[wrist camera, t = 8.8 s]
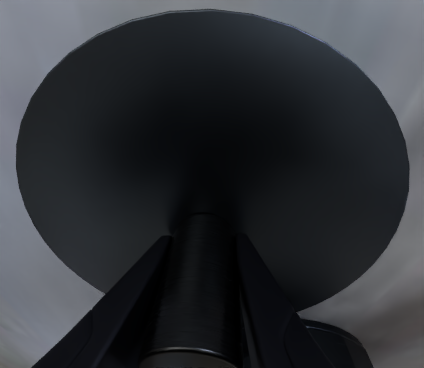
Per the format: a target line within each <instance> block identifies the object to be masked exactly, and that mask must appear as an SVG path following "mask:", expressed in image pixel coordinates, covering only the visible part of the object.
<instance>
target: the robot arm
mask: <svg viewBox="0 0 424 368" xmlns="http://www.w3.org/2000/svg"><path fill="white" fill-rule="evenodd" d="M171 242H172V236H170V235H165V236H161V237H160V238H159V239H158V240H157V241H156V242H155V243H154V244H153V245H152V246H151V247H150V248H149V249H148V250H147V251H146V252H145V253H144V254H143V255H142V256H141V258H140V259H139V260H138V261H137V262H136V263H135V264H134V265H133V266H132V267H131V268H130V269H129V270H128V271H127V272H126V273H125V274H124V275H123V276H122V277H121V279H120V280H119V281H118V282H117V283H116V284H115V285H114V286H113V287H112V288H111V289H110V290H109V291H108V292H107V293H106V294H105V295H104V296H103V297H102V298H101V300H100V301H99V302H98V303H97V304H96V305H95V306H94V307H93V308H92V310H90V311H89V312H88V313H87V314H86V315H85V316H84V317H83V318H82V319H81V320H80V321H79V322H78V323H77V324H76V325H75V326H74V327H73V328H72V330H71V331H70V332H69V333H68V334H67V335H66V336H65V337H63V338H62V339H61V340H60V341H59V342H58V343H57V344H56V345H55V346H54V347H53V348H52V349H51V350H50V351H49V352H48V353H47V354H45V355H44V356H43V357H42V358H41V359H40V360H39V361H38V362H37V363H36V364H35V365H34V366H32V367H31V368H138V358H139V354H140V351H141V347H142V344H143V340H144V337H145V333H146V330H147V326H148V323H149V319H150V316H151V312H152V309H153V305H154V302H155V298H156V295H157V291H158V288H159V284H160V281H161V277H162V273H163V270H164V266H165V263H166V259H167V256H168V252H169V249H170V245H171ZM236 253H237V269H238V277H239V292H240V302H241V308H242V314H243V320H244V326H245V332H246V338H247V344H248V350H249V356H250V362H251V368H335V367H334V366H333V364H332V363H331V362H330V360H329V359H328V358H327V356H326V355H325V354H324V352H323V351H322V350H321V348H320V347H319V346H318V344H317V343H316V341H315V340H314V339H313V337H312V336H311V334H310V333H309V331H308V330H307V328H306V327H305V325H304V324H303V322H302V320H301V319H300V317H299V316H298V314H297V313H296V312H294V308H293V306H292V305H291V303H290V302H289V300H288V299H287V297H286V295H285V294H284V292H283V291H282V289H281V288H280V286H279V284H278V283H277V281H276V280H275V278H274V277H273V275H272V273H271V272H270V270H269V269H268V267H267V265H266V264H265V262H264V261H263V259H262V258H261V256H260V254H259V253H258V251H257V250H256V248H255V247H254V245H253V243H252V242H251V240H250V239H249V237H248V236H247V234H245V233H237V234H236Z"/></svg>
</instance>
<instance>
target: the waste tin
mask: <svg viewBox="0 0 424 368" xmlns="http://www.w3.org/2000/svg"><path fill="white" fill-rule="evenodd" d="M301 320H302V322H303V324H304V325H305V327H306V328H307V330H308V331H309V333H310V334H311V336H312V337H313V339H314V340H315V341H316V343H317V344H318V346H319V347H320V348H321V350H322V351H323V352H324V354H325V355H326V356H327V358H328V359H329V360H330V362H331V363H332V364H333V366H334V367H335V368H374V367H373V365H372V363H371V361H370V359H369V356H368V354H367V352H366V350H365V349H364V347H363V346H362V344H361V342H360V341H359V340H358V339H357V338H356V337H354V336H353V335H351V334H350V333H348V332H346V331H344V330H342V329H340V328H337V327H334V326H332V325H328V324H324V323H321V322H316V321H310V320H303V319H301ZM241 330H242V349H243V368H251V362H250V356H249V350H248V344H247V338H246V332H245V326H244V323H241Z"/></svg>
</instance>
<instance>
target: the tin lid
mask: <svg viewBox="0 0 424 368" xmlns="http://www.w3.org/2000/svg"><path fill="white" fill-rule="evenodd" d="M16 170H17V177H18V183H19V189H20V192H21V195H22V198H23V201H24V205H25V208H26V210H27V212H28V214H29V216H30V218H31V220H32V222H33V224H34V226H35V227H36V229H37V231H38V232H39V234H40V235H41V237H42V238H43V240H44V241H45V242H46V244H47V245H48V246H49V247H50V248H51V250H52V251H53V252H54V253H55V255H56V256H57V257H58V258H59V259H60V260H61V261H62V262H63V263H64V264H65V265H66V266H67V267H69V268H70V269H71V270H72V271H73V272H75V273H76V274H77V275H78V276H79V277H81V278H82V279H83V280H85V281H86V282H88V283H89V284H91V285H92V286H94V287H95V288H97V289H98V290H100V291H102V292H104V293H105V294H106V293H107V292H108V291H109V290H110V289H111V288H112V287H113V286H114V285H115V284H116V283H117V282H118V281H119V280H120V279H121V277H122V276H123V275H124V274H125V273H126V272H127V271H128V270H129V269H130V268H131V267H132V266H133V265H134V264H135V263H136V262H137V261H138V260H139V259H140V258H141V256H142V255H143V254H144V253H145V252H146V251H147V250H148V249H149V248H150V247H151V246H152V245H153V244H154V243H155V242H156V241H157V240H158V239H159V238H160V237H161V236H165V235H170V236H172V242H171V245H170V249H169V252H168V256H167V259H166V263H165V266H164V270H163V273H162V277H161V281H160V284H159V288H158V291H157V295H156V298H155V302H154V305H153V309H152V312H151V316H150V319H149V323H148V326H147V330H146V333H145V337H144V340H143V344H142V347H141V351H140V354H139V358H138V368H243V349H242V330H241V323H244V320H243V314H242V308H241V302H240V292H239V277H238V269H237V253H236V234H237V233H245V234H247V236H248V237H249V239H250V240H251V242H252V243H253V245H254V247H255V248H256V250H257V251H258V253H259V254H260V256H261V258H262V259H263V261H264V262H265V264H266V265H267V267H268V269H269V270H270V272H271V273H272V275H273V277H274V278H275V280H276V281H277V283H278V284H279V286H280V288H281V289H282V291H283V292H284V294H285V295H286V297H287V299H288V300H289V302H290V303H291V305H292V306H293V308H294V312H298V311H301V310H304V309H306V308H309V307H311V306H314V305H316V304H318V303H320V302H322V301H324V300H326V299H328V298H330V297H332V296H334V295H335V294H337V293H338V292H340V291H342V290H343V289H345V288H346V287H348V286H349V285H350V284H352V283H353V282H354V281H355V280H357V279H358V278H359V277H361V276H362V275H363V274H364V273H365V272H366V271H367V270H368V269H369V268H370V267H371V266H372V265H373V264H374V263H375V262H376V260H377V259H378V258H379V257H380V255H381V254H382V253H383V252H384V250H385V249H386V248H387V246H388V244H389V243H390V241H391V239H392V238H393V236H394V234H395V233H396V231H397V228H398V226H399V223H400V221H401V218H402V216H403V213H404V210H405V206H406V201H407V196H408V192H409V161H408V155H407V149H406V143H405V139H404V137H403V134H402V131H401V129H400V126H399V124H398V121H397V118H396V116H395V114H394V112H393V111H392V109H391V107H390V106H389V104H388V103H387V101H386V99H385V98H384V96H383V95H382V93H381V91H380V90H379V88H378V87H377V86H376V85H375V84H374V83H373V82H372V81H371V80H370V79H369V78H368V77H367V76H366V75H365V73H364V72H363V71H362V70H361V69H360V68H359V67H358V66H357V65H356V64H355V63H353V62H352V61H351V60H349V59H348V58H347V57H345V56H344V55H343V54H341V53H340V52H339V51H337V50H336V49H334V48H333V47H332V46H330V45H329V44H328V43H326V42H324V41H322V40H320V39H318V38H316V37H314V36H312V35H310V34H308V33H306V32H304V31H302V30H300V29H298V28H296V27H294V26H292V25H288V24H285V23H282V22H278V21H275V20H271V19H268V18H265V17H261V16H258V15H254V14H249V13H241V12H232V11H224V10H216V9H200V10H180V11H168V12H163V13H159V14H155V15H150V16H146V17H141V18H137V19H132V20H130V21H127V22H125V23H123V24H120V25H118V26H115V27H113V28H111V29H108V30H106V31H103V32H101V33H99V34H97V35H95V36H94V37H92V38H91V39H89V40H88V41H86V42H85V43H83V44H82V45H80V46H79V47H77V48H76V49H74V50H73V51H71V52H70V53H69V54H67V55H66V56H65V57H64V58H63V59H62V60H61V61H60V62H59V63H58V64H57V65H56V66H55V67H54V68H53V69H52V70H51V71H50V72H49V73H48V74H47V76H46V77H45V78H44V80H43V81H42V83H41V84H40V86H39V87H38V89H37V90H36V92H35V93H34V95H33V96H32V98H31V100H30V102H29V104H28V107H27V109H26V112H25V114H24V116H23V119H22V121H21V125H20V130H19V135H18V140H17V144H16Z"/></svg>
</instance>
